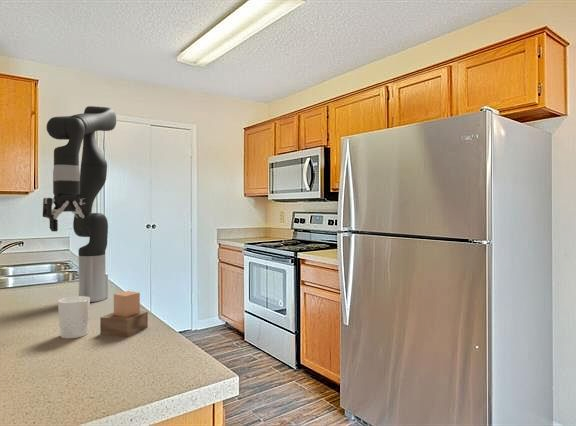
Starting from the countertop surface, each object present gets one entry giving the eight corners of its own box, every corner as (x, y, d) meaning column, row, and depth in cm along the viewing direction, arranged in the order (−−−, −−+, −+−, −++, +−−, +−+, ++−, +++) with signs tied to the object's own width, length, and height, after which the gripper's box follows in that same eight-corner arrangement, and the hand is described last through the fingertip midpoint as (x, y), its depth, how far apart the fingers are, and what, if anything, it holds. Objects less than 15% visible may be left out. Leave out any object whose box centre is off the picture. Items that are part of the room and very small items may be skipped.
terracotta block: (128, 310, 118) (128, 290, 118) (139, 313, 115) (139, 292, 115) (113, 314, 114) (113, 294, 113) (124, 317, 111) (124, 296, 111)
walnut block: (122, 325, 120) (122, 309, 120) (147, 328, 117) (147, 311, 117) (100, 335, 111) (100, 317, 111) (127, 338, 109) (127, 320, 108)
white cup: (96, 332, 113) (96, 297, 112) (73, 341, 105) (73, 303, 105) (75, 329, 115) (75, 295, 115) (51, 337, 108) (50, 301, 108)
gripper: (79, 181, 134) (79, 229, 135) (36, 178, 121) (37, 231, 122) (94, 181, 131) (94, 229, 131) (52, 178, 118) (53, 232, 118)
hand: (67, 230), depth 126 cm, fingers open, 8 cm apart
